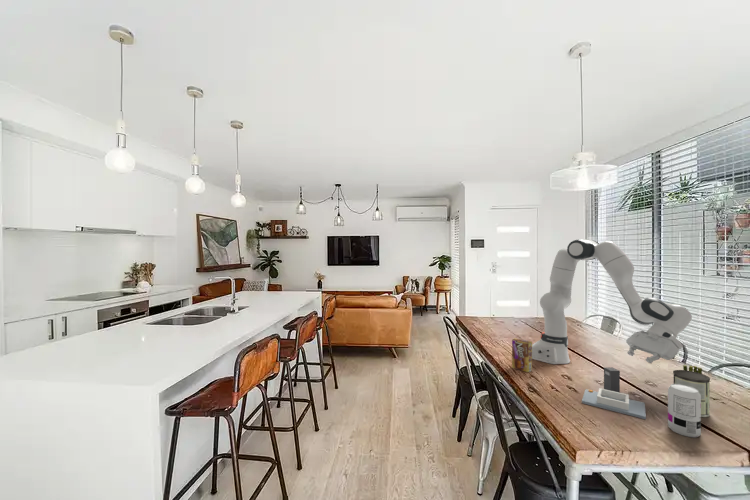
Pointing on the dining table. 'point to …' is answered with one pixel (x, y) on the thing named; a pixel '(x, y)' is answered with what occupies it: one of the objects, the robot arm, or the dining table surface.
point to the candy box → (522, 355)
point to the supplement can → (684, 410)
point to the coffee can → (695, 386)
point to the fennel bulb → (692, 369)
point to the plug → (612, 379)
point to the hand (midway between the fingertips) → (638, 358)
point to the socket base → (614, 402)
